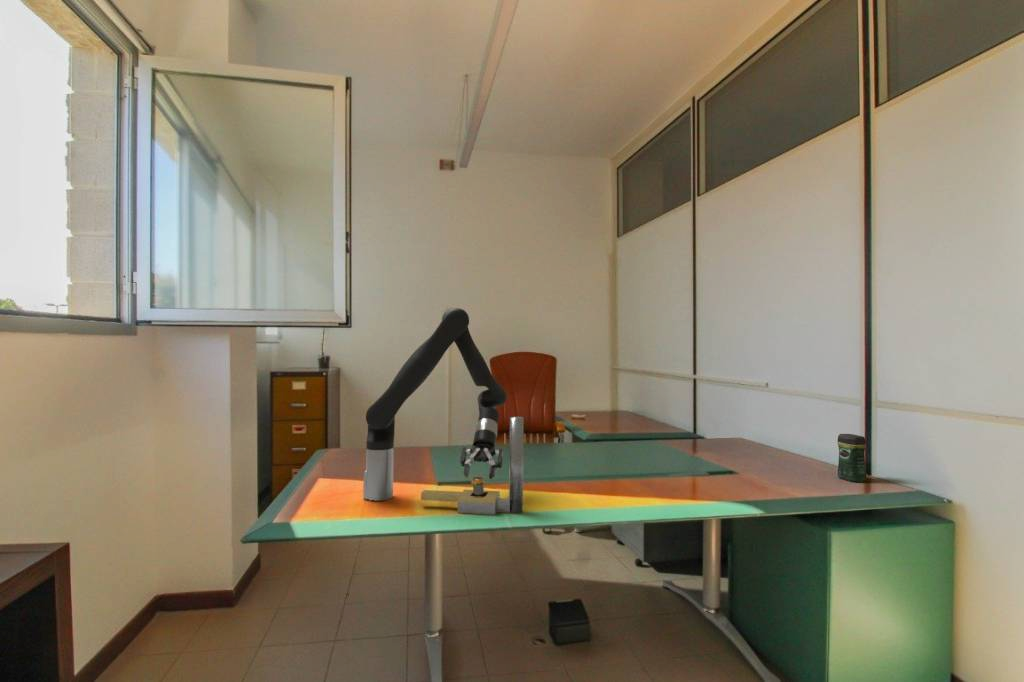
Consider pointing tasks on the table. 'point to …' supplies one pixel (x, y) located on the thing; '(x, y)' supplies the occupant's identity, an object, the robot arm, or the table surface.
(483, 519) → the table surface
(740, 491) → the table surface
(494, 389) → the robot arm
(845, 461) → the coffee jar
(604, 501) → the table surface
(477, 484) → the wedge pin
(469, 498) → the grey l-shaped piece
